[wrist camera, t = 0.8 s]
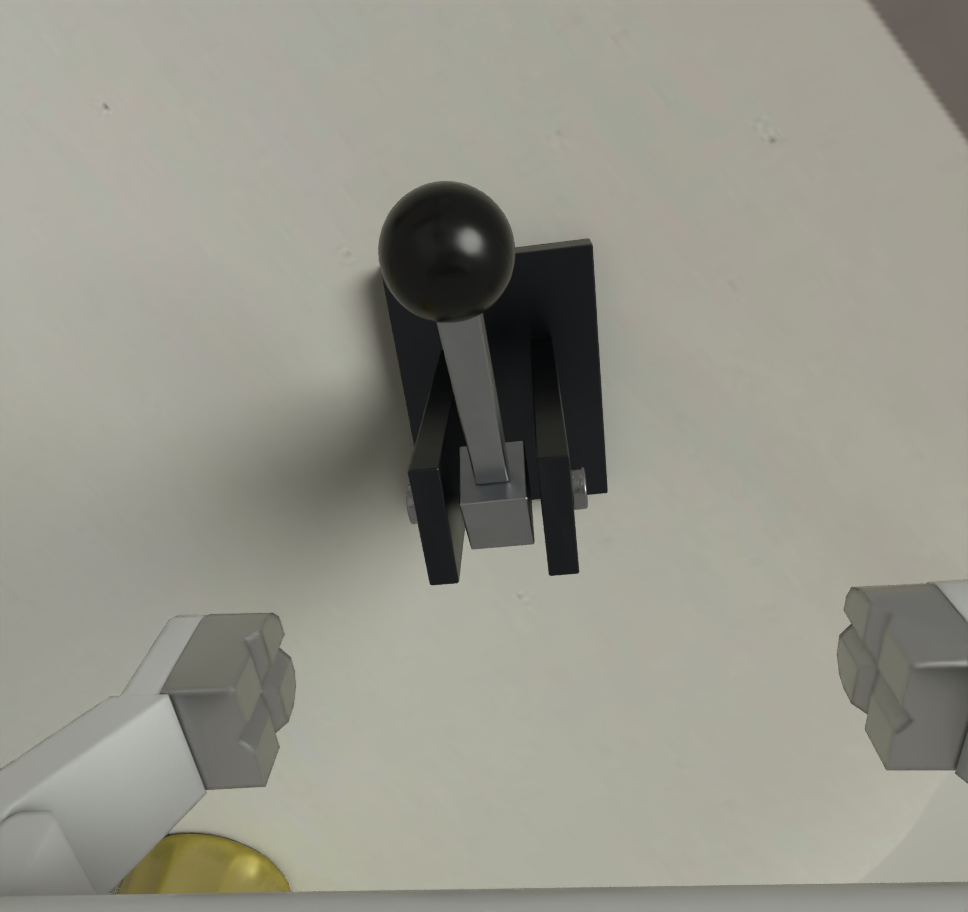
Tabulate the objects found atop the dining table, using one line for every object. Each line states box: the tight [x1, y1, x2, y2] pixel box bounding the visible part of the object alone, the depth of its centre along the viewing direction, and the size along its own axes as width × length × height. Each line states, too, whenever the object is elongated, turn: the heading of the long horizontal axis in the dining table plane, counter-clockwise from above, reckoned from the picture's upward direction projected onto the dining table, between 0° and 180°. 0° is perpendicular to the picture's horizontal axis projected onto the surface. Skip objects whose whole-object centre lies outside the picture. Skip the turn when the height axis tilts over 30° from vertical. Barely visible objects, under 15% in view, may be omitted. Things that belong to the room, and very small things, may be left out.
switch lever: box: [378, 181, 534, 549], centre depth 21 cm, size 13×3×3 cm, turn 7°
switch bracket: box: [382, 239, 608, 585], centre depth 29 cm, size 12×9×13 cm
